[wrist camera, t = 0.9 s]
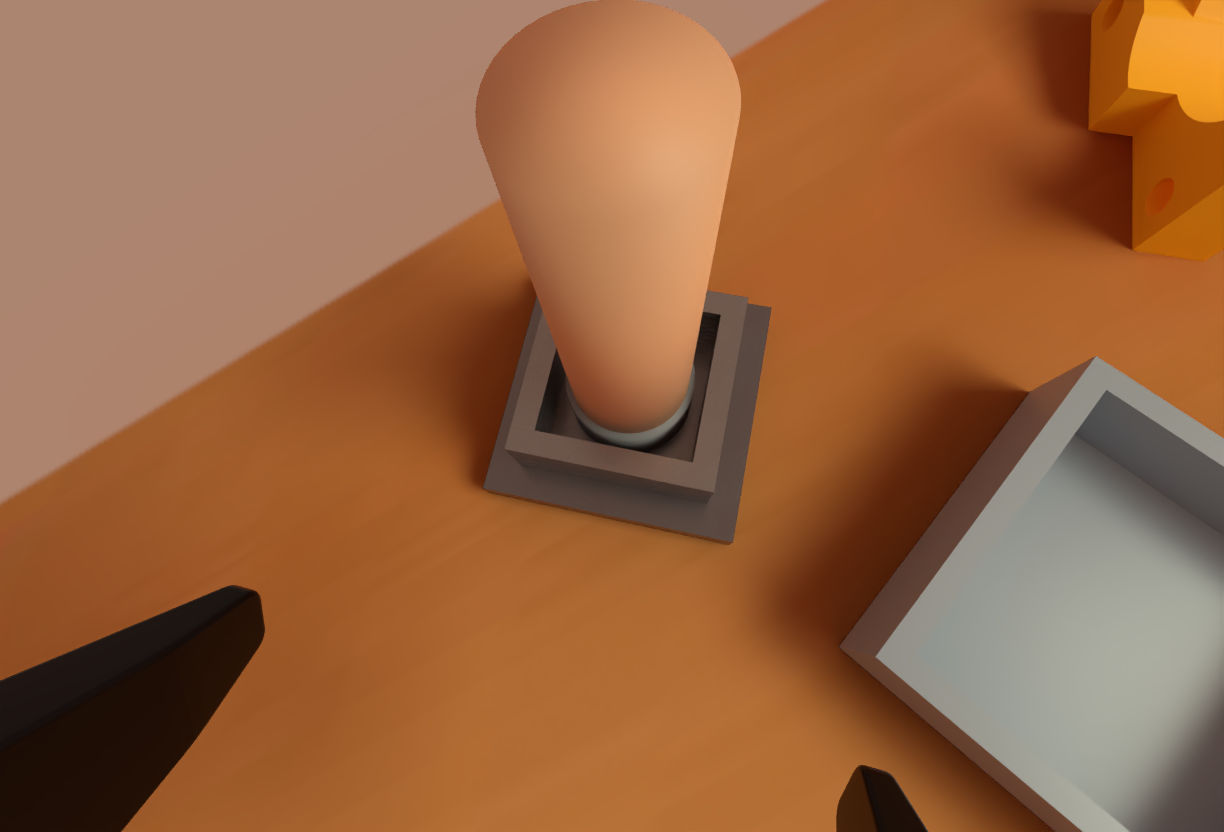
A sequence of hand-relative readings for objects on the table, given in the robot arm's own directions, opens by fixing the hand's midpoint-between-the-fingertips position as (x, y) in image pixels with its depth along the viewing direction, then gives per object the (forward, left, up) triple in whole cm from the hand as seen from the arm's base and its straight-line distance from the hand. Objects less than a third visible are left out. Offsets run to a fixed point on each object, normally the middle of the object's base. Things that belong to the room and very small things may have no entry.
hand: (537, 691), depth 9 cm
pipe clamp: (+30, -4, -13) cm, 33 cm away
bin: (+11, -12, -13) cm, 21 cm away
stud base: (+7, +5, -13) cm, 16 cm away
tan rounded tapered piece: (+7, +5, -12) cm, 15 cm away
